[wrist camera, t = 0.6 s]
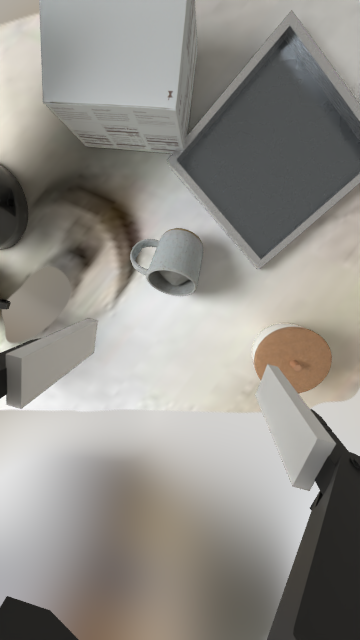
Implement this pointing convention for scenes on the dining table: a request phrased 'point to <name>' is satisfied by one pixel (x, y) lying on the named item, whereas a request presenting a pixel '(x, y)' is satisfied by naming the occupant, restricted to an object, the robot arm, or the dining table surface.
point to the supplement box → (120, 70)
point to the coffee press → (4, 304)
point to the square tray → (274, 145)
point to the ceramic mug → (172, 262)
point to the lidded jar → (292, 354)
